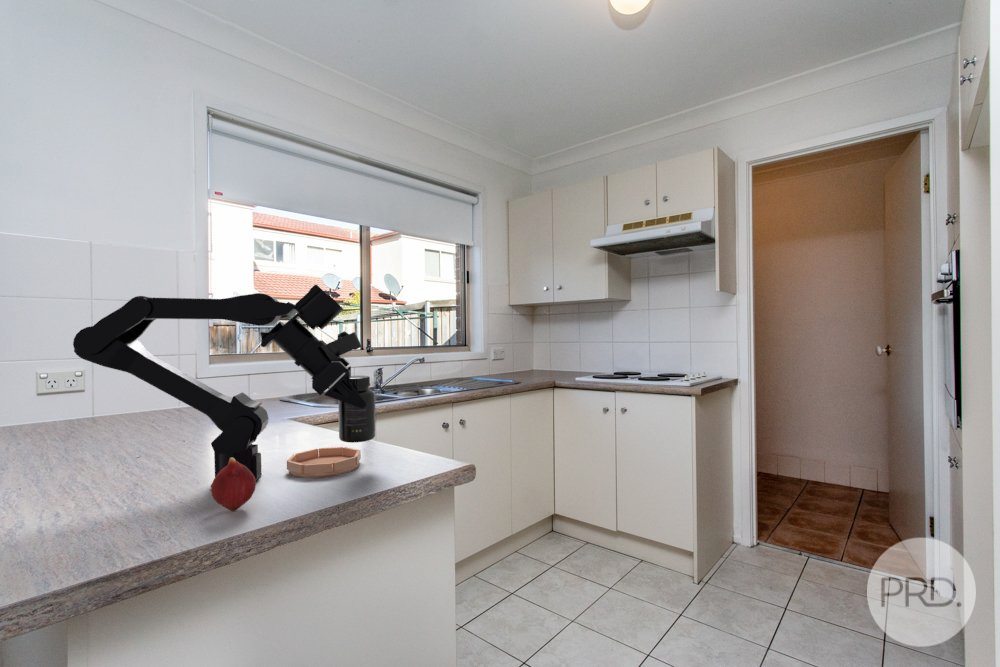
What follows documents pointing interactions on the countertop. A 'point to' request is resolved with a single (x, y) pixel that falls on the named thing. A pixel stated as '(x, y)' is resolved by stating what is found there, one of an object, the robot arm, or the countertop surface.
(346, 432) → the supplement bottle
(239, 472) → the onion
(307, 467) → the terracotta saucer
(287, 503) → the countertop surface
